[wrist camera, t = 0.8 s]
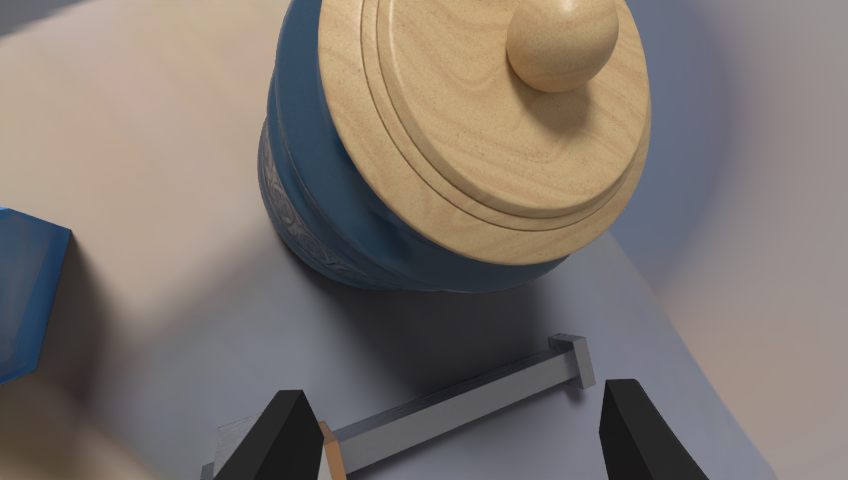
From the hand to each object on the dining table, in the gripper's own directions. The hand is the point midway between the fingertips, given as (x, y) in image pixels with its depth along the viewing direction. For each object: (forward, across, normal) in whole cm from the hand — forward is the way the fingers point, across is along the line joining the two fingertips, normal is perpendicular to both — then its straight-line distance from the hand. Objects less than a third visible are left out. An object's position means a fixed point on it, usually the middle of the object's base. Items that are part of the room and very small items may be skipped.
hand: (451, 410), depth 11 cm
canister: (+17, +5, +2) cm, 18 cm away
